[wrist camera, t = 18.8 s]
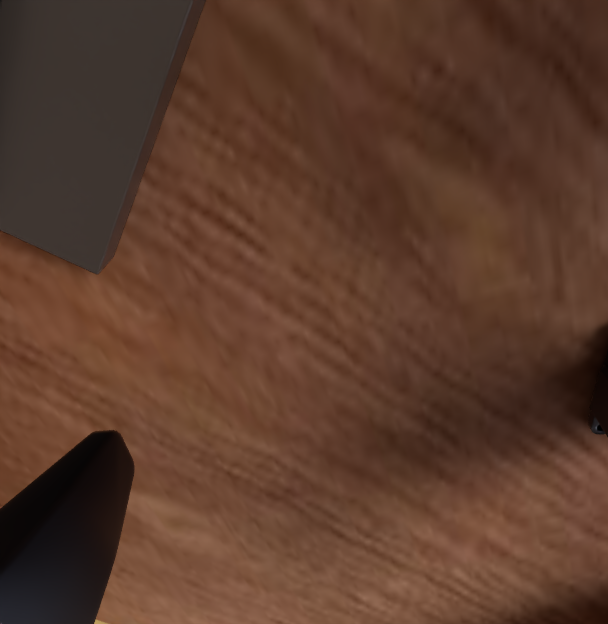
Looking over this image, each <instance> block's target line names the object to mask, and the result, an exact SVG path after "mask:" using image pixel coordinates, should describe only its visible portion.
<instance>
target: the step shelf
mask: <svg viewBox="0 0 608 624" xmlns="http://www.w3.org/2000/svg"><path fill="white" fill-rule="evenodd" d="M205 1H206V0H0V230H1V231H3V232H5V233H7V234H10V235H12V236H14V237H16V238H18V239H21V240H23V241H25V242H27V243H29V244H31V245H34V246H36V247H38V248H40V249H42V250H45V251H47V252H49V253H51V254H53V255H55V256H58V257H60V258H62V259H64V260H66V261H69V262H71V263H73V264H75V265H77V266H79V267H82V268H84V269H86V270H88V271H90V272H93V273H95V274H99V273H100V272H101V271H102V270H103V268H104V267H105V266H106V265H107V264H108V263H109V262H110V260H111V259H112V258H113V257H114V254H115V251H116V249H117V246H118V243H119V240H120V237H121V235H122V232H123V229H124V226H125V223H126V221H127V218H128V215H129V212H130V210H131V207H132V204H133V201H134V198H135V196H136V193H137V190H138V187H139V184H140V182H141V179H142V176H143V173H144V171H145V168H146V165H147V162H148V159H149V157H150V154H151V151H152V148H153V145H154V143H155V140H156V137H157V134H158V131H159V129H160V126H161V123H162V120H163V118H164V115H165V112H166V109H167V106H168V104H169V101H170V98H171V95H172V92H173V90H174V87H175V84H176V81H177V79H178V76H179V73H180V70H181V67H182V65H183V62H184V59H185V56H186V53H187V51H188V48H189V45H190V42H191V40H192V37H193V34H194V31H195V28H196V26H197V23H198V20H199V17H200V14H201V12H202V9H203V6H204V3H205Z"/></svg>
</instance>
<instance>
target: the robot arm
mask: <svg viewBox="0 0 608 624" xmlns="http://www.w3.org/2000/svg"><path fill="white" fill-rule="evenodd" d="M590 410H591V412H590V415H589V419H588V426H589V427H590V429H591V431H592V432H593V433H595V434H606V435H607V436H608V351H607V354H606V358H605V361H604V365H603V367H602V368H601V369H600V372H599V375H598V379H597V383H596V386H595V390H594V394H593V397H592V401H591V404H590ZM133 477H134V461H133V459H132V457H131V454H130V452H129V450H128V448H127V446H126V444H125V442H124V440H123V438H122V436H121V434H120V433H119V432H118V431H115V430H107V431H95V432H93V433H91V434H90V435H88V436H87V437H86V438H85V439H84V440H82V441H81V442H80V443H79V444H78V445H76V446H75V447H74V448H73V449H72V450H70V451H69V452H68V453H67V454H66V455H64V456H63V457H62V458H61V459H60V460H58V461H57V462H56V463H55V464H53V465H52V466H51V467H50V468H49V469H47V470H46V471H45V472H44V473H43V474H41V475H40V476H39V477H38V478H37V479H35V480H34V481H33V482H32V483H31V484H29V485H28V486H27V487H26V488H25V489H23V490H22V491H21V492H20V493H19V494H17V495H16V496H15V497H14V498H13V499H11V500H10V501H9V502H8V503H7V504H5V505H4V506H3V507H2V508H1V509H0V624H94V622H95V619H96V616H97V613H98V610H99V607H100V604H101V601H102V598H103V595H104V592H105V589H106V586H107V583H108V580H109V577H110V574H111V570H112V567H113V564H114V561H115V557H116V553H117V549H118V545H119V540H120V536H121V531H122V527H123V522H124V518H125V513H126V509H127V504H128V500H129V495H130V490H131V486H132V481H133Z"/></svg>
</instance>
